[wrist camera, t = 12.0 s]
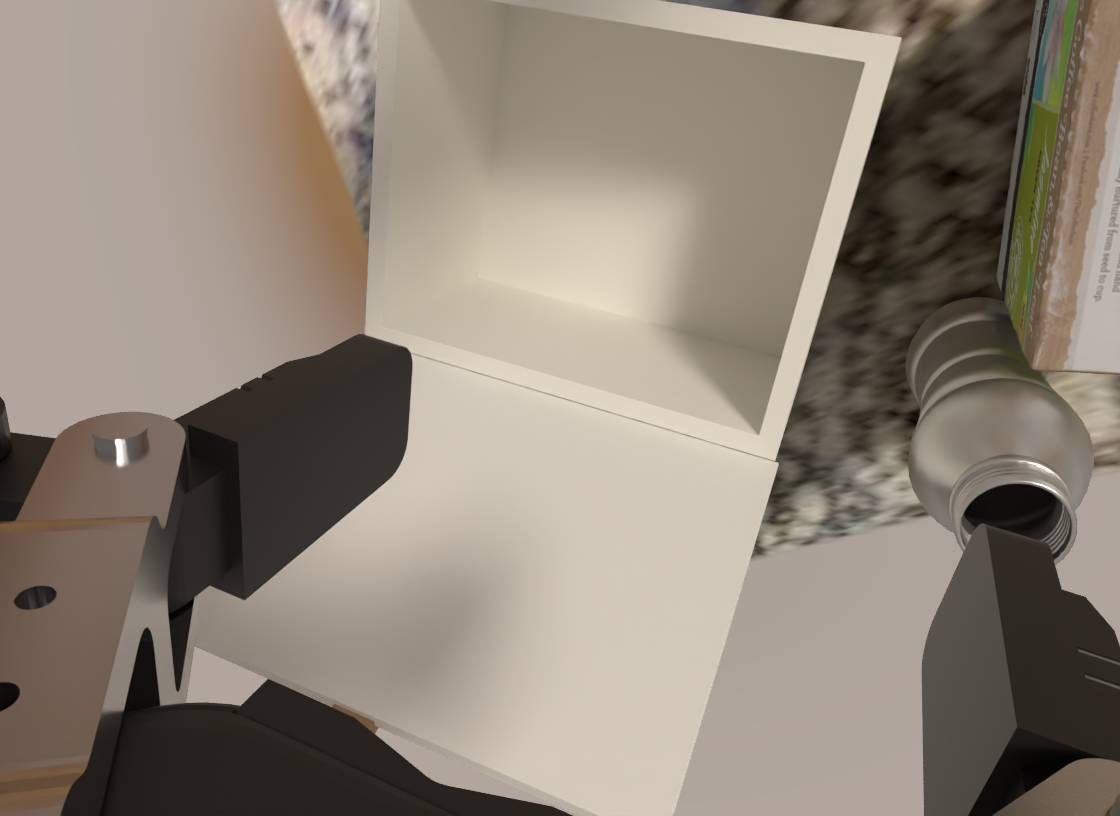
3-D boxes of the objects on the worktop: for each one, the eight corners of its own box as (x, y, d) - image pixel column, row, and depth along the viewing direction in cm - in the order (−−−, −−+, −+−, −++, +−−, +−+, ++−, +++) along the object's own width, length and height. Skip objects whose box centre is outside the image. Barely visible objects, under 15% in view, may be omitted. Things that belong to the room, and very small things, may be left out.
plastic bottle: (1064, 312, 42) (1179, 483, 25) (1000, 424, 45) (1062, 645, 28) (938, 270, 44) (964, 404, 26) (884, 381, 47) (876, 566, 29)
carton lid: (-25, 698, 27) (23, 754, 30) (611, 1019, 21) (600, 1054, 24) (359, 325, 43) (368, 383, 46) (783, 449, 37) (765, 508, 40)
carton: (497, -19, 46) (381, -43, 36) (900, 44, 40) (901, 37, 30) (466, 286, 54) (364, 339, 44) (801, 376, 48) (774, 461, 38)
